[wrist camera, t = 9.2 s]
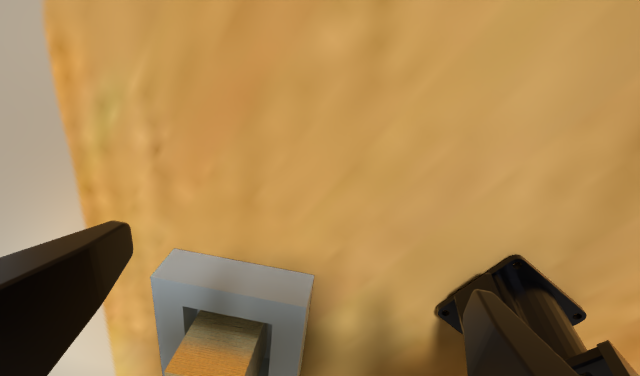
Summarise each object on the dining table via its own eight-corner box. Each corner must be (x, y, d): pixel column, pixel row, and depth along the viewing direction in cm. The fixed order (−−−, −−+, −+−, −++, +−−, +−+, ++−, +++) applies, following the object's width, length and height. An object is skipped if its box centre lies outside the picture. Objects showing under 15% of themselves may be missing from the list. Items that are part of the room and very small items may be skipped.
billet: (269, 308, 25) (238, 391, 20) (266, 350, 28) (238, 437, 22) (208, 296, 26) (162, 374, 20) (209, 339, 28) (168, 421, 22)
